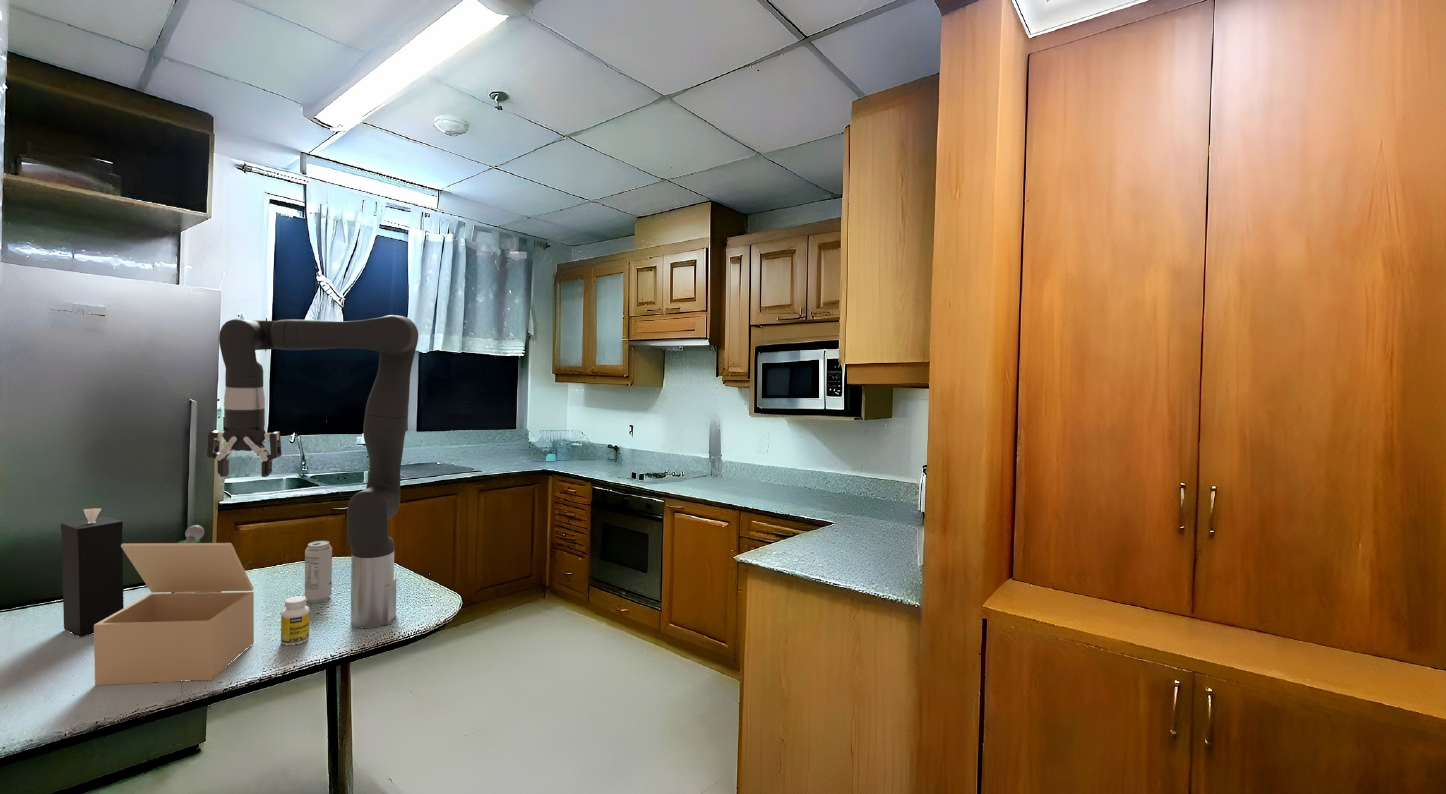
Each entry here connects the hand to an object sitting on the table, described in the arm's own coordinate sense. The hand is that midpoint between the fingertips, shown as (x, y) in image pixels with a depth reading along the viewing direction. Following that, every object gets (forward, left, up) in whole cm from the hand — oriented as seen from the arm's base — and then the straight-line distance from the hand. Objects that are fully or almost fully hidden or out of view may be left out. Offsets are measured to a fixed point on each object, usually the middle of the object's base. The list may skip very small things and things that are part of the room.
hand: (244, 476), depth 150 cm
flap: (+4, +13, -17) cm, 22 cm away
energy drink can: (-9, -17, -36) cm, 41 cm away
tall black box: (+32, -2, -36) cm, 48 cm away
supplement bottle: (-14, +8, -36) cm, 40 cm away
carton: (+4, +17, -36) cm, 40 cm away
